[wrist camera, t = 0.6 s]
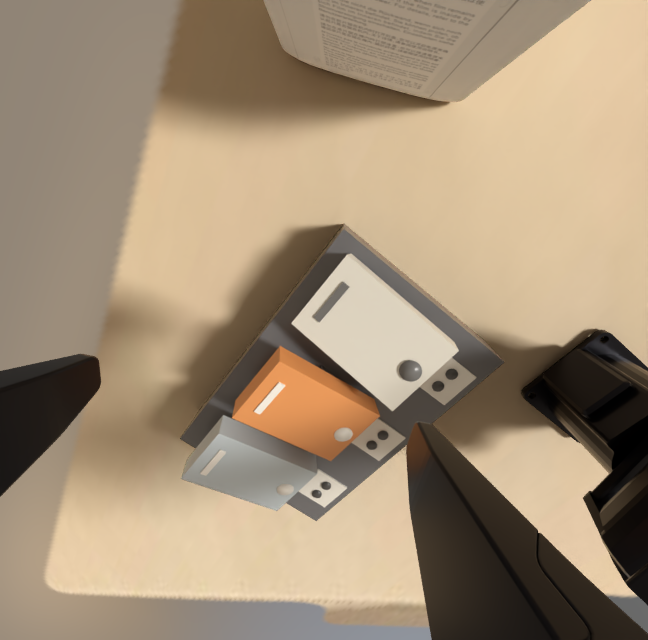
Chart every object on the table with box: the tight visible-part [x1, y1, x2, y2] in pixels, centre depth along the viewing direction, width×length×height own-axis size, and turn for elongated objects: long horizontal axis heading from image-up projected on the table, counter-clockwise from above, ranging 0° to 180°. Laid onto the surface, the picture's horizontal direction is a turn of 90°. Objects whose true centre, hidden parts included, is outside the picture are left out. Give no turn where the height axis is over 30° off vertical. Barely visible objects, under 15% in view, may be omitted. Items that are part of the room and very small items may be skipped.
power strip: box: [180, 224, 504, 521], centre depth 21 cm, size 12×18×4 cm, turn 142°
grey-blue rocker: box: [181, 415, 317, 511], centre depth 20 cm, size 7×5×2 cm, turn 52°
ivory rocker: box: [291, 254, 459, 411], centre depth 16 cm, size 7×5×2 cm, turn 52°
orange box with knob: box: [232, 346, 380, 461], centre depth 18 cm, size 7×5×2 cm, turn 52°
